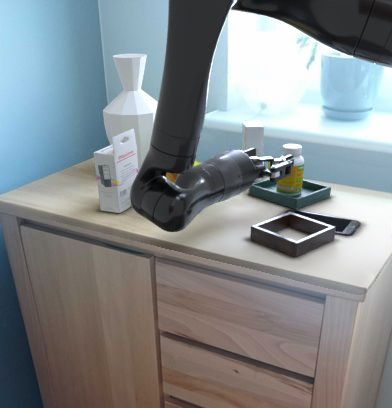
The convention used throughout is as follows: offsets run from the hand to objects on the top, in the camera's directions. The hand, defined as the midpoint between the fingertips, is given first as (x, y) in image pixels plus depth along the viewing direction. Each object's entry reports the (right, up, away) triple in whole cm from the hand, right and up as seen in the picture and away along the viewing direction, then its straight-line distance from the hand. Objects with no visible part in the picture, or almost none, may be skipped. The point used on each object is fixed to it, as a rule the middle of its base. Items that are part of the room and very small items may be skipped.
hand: (272, 156), depth 109 cm
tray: (+5, -5, +11) cm, 13 cm away
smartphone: (+8, -14, -2) cm, 16 cm away
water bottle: (-19, -6, +10) cm, 22 cm away
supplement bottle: (+5, -4, +11) cm, 12 cm away
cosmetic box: (-2, +2, +21) cm, 22 cm away
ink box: (-31, -8, +7) cm, 33 cm away
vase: (-29, +6, +28) cm, 41 cm away
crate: (+2, -18, -9) cm, 20 cm away
